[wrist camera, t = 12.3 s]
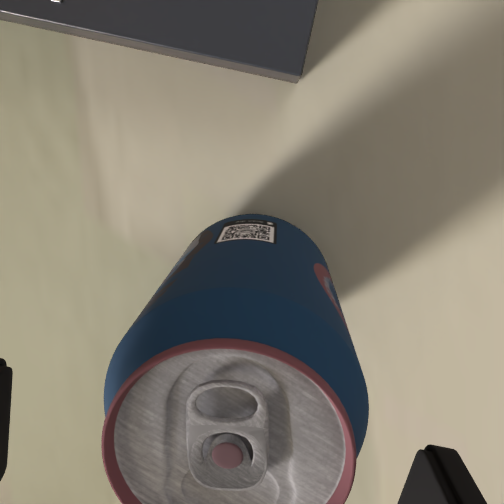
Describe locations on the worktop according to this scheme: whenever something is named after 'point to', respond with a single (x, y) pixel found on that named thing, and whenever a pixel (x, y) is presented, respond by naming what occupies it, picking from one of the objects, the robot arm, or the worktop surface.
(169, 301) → the soda can
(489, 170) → the worktop surface
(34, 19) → the cooker panel
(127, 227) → the worktop surface
